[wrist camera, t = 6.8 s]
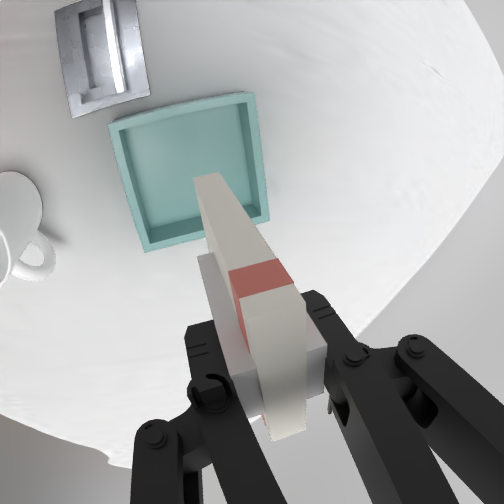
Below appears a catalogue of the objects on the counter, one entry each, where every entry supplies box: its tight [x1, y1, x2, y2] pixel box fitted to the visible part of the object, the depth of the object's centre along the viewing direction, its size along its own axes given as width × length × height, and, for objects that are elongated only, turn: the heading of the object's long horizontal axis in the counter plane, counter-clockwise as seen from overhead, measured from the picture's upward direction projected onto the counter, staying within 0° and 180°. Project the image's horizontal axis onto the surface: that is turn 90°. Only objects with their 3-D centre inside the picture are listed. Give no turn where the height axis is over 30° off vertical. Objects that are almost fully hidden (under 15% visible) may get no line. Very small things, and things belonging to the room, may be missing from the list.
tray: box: [108, 91, 270, 253], centre depth 29 cm, size 13×13×4 cm
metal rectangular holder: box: [54, 0, 150, 119], centre depth 21 cm, size 12×8×3 cm, turn 7°
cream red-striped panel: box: [193, 172, 307, 441], centre depth 14 cm, size 7×2×11 cm, turn 7°
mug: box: [0, 171, 56, 286], centre depth 24 cm, size 12×8×10 cm
